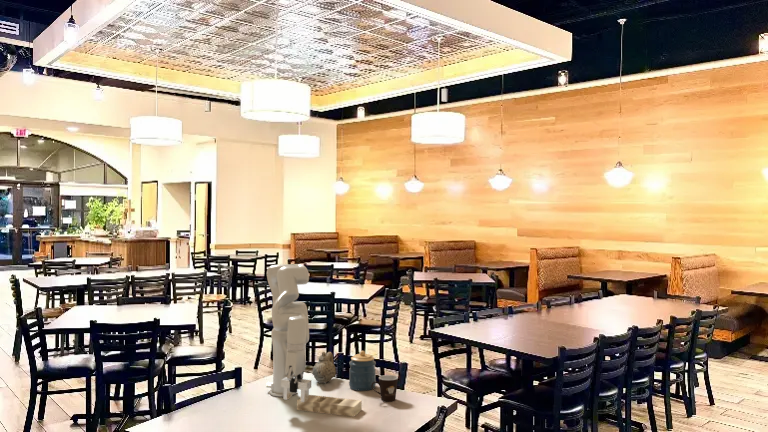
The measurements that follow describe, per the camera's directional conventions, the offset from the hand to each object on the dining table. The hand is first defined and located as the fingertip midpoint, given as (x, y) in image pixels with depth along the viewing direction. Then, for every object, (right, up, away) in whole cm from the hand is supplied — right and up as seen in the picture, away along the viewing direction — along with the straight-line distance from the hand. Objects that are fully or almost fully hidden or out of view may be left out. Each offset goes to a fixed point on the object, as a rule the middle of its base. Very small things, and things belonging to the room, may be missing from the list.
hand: (296, 389), depth 242 cm
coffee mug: (+37, -11, +21) cm, 44 cm away
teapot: (+7, -11, +50) cm, 51 cm away
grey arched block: (0, -4, 0) cm, 4 cm away
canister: (+26, -11, +40) cm, 49 cm away
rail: (+13, -10, +6) cm, 18 cm away
